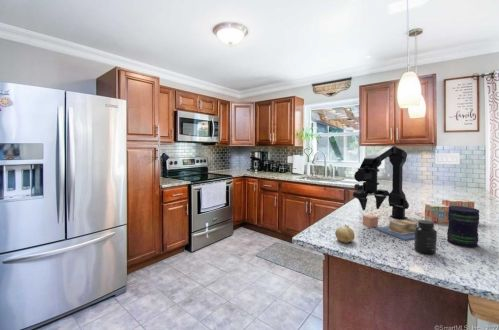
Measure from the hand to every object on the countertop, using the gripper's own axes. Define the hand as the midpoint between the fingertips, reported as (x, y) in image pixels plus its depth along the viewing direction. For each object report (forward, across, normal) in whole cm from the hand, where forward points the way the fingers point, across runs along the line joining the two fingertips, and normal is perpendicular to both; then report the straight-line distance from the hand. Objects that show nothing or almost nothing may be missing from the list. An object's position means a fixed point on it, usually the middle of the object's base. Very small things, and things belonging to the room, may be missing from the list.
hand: (370, 209), depth 124 cm
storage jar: (+9, -17, +32) cm, 37 cm away
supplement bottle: (+9, +6, +33) cm, 35 cm away
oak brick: (+8, -6, +14) cm, 17 cm away
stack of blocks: (+9, -46, +9) cm, 47 cm away
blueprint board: (+8, -6, +14) cm, 17 cm away
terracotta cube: (+8, 0, 0) cm, 9 cm away
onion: (+9, +28, +14) cm, 33 cm away
